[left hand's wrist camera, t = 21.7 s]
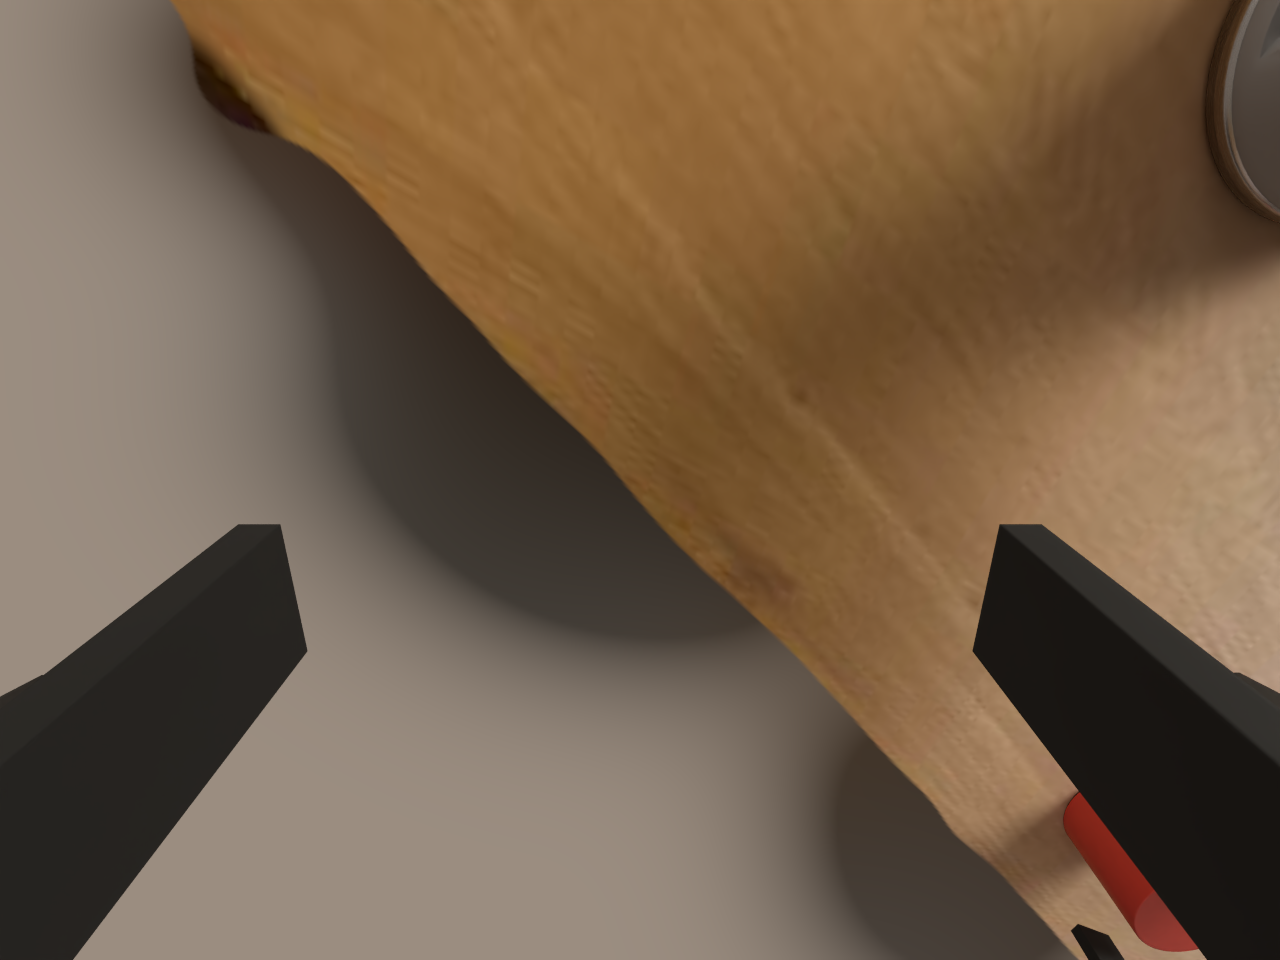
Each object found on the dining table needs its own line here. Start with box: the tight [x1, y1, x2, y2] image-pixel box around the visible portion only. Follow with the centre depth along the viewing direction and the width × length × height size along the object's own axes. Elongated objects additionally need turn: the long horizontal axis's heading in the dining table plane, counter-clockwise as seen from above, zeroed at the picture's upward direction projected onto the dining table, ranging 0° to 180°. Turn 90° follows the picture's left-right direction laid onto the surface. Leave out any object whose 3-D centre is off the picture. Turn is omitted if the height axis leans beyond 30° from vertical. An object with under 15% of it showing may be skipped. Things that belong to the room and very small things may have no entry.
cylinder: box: [1063, 792, 1199, 952], centre depth 46 cm, size 7×7×8 cm
